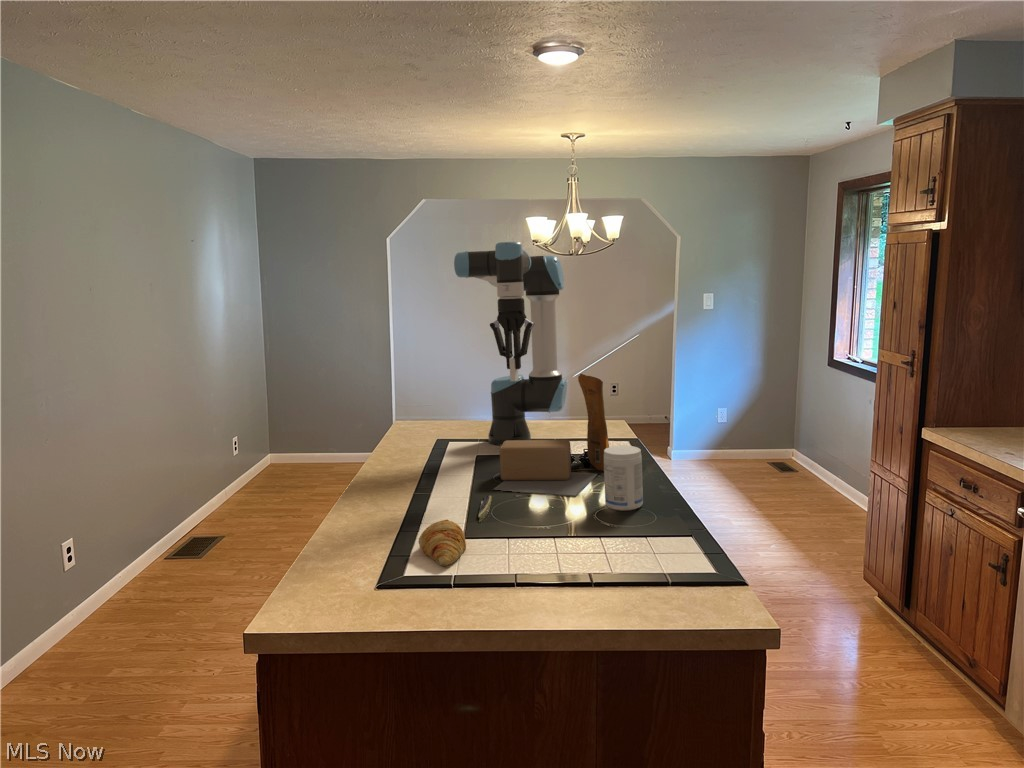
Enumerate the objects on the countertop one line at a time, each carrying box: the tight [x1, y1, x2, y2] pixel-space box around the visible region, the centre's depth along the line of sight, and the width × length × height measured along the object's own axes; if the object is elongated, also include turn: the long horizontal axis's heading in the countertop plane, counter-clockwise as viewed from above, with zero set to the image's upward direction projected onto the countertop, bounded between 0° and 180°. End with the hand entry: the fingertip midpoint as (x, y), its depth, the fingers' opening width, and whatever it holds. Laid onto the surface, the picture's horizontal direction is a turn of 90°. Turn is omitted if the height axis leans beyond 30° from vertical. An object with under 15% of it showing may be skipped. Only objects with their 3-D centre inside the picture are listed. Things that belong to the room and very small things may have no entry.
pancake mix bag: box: [577, 373, 610, 472], centre depth 230 cm, size 7×19×28 cm, turn 8°
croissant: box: [418, 519, 467, 567], centre depth 165 cm, size 21×10×8 cm, turn 10°
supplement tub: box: [603, 445, 644, 512], centre depth 190 cm, size 10×10×15 cm
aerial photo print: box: [478, 494, 532, 523], centre depth 192 cm, size 25×19×2 cm
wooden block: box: [499, 439, 572, 482], centre depth 219 cm, size 10×10×20 cm
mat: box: [493, 471, 598, 498], centre depth 215 cm, size 22×24×1 cm
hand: (514, 380), depth 215 cm, fingers closed
